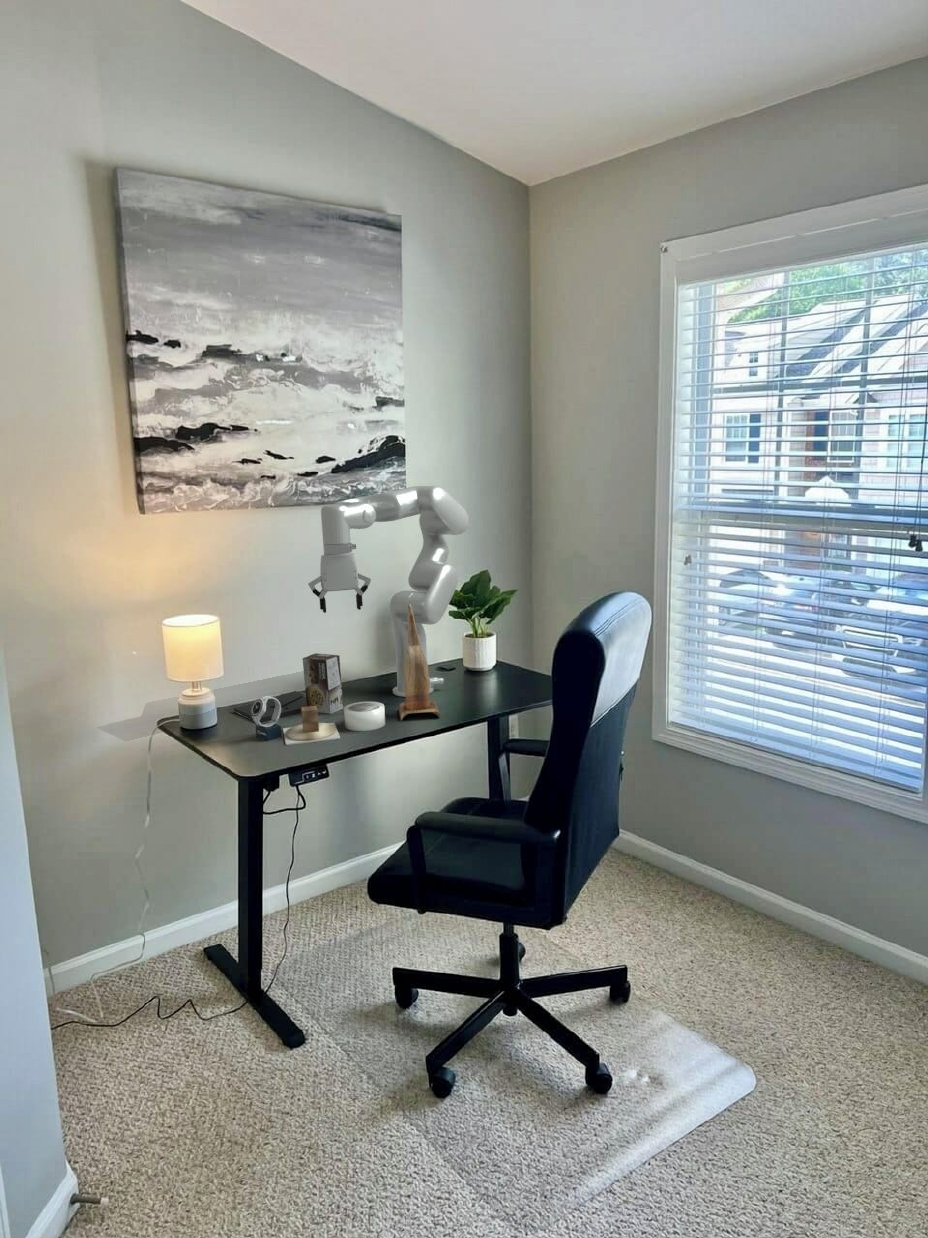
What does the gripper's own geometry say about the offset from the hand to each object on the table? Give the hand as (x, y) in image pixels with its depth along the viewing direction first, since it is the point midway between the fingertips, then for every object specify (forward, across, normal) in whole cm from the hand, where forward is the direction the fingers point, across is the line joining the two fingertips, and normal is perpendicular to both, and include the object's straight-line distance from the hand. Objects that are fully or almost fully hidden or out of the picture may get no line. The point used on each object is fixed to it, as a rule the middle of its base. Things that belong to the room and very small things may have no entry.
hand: (341, 610), depth 250 cm
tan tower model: (+31, -19, +8) cm, 37 cm away
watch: (+30, +23, +13) cm, 40 cm away
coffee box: (+30, +6, -7) cm, 32 cm away
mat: (+30, +12, +15) cm, 36 cm away
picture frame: (+31, +19, -12) cm, 39 cm away
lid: (+30, +12, +15) cm, 35 cm away
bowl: (+30, -3, +12) cm, 33 cm away
